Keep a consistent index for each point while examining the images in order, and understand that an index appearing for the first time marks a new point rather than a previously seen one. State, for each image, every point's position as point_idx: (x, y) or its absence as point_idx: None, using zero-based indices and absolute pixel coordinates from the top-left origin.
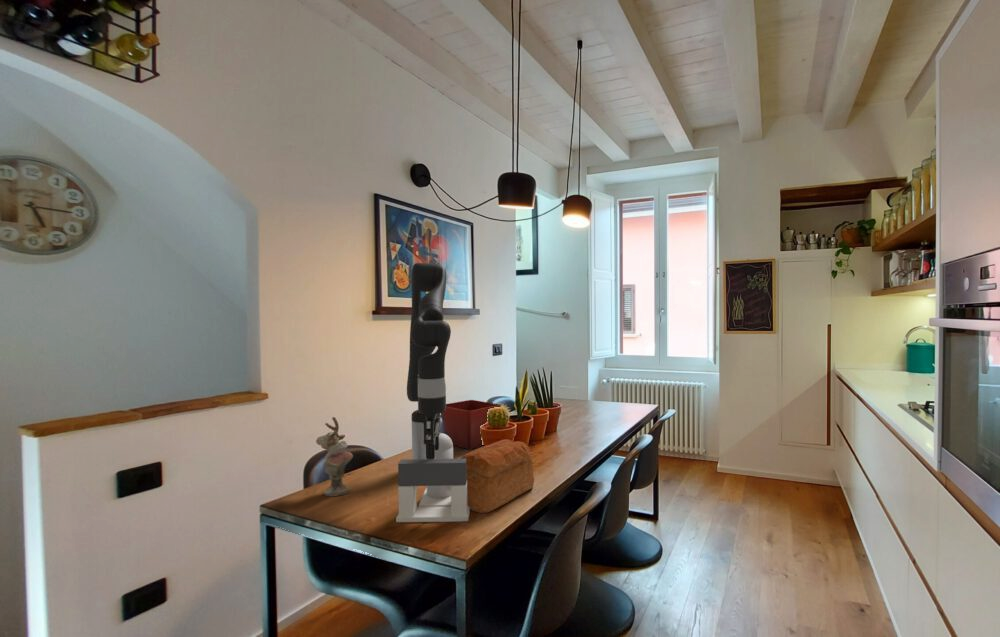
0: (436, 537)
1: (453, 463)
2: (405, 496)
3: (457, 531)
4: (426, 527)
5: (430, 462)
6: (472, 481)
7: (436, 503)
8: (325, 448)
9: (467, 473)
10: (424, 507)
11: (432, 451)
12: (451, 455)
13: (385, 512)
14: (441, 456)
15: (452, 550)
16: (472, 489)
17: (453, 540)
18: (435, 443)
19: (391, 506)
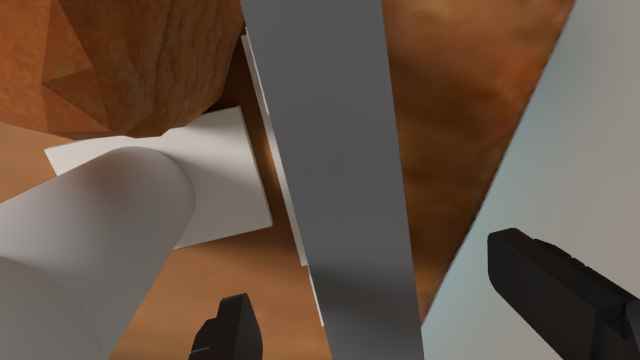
0: (463, 90)
1: (390, 86)
2: None
3: (420, 34)
4: (399, 145)
5: (392, 255)
6: (208, 5)
7: (242, 175)
8: None
9: (173, 43)
10: (286, 200)
11: (584, 267)
12: (17, 218)
13: (313, 295)
14: (102, 267)
15: (546, 10)
16: (221, 12)
17: (483, 28)
18: (247, 358)
19: (267, 300)
